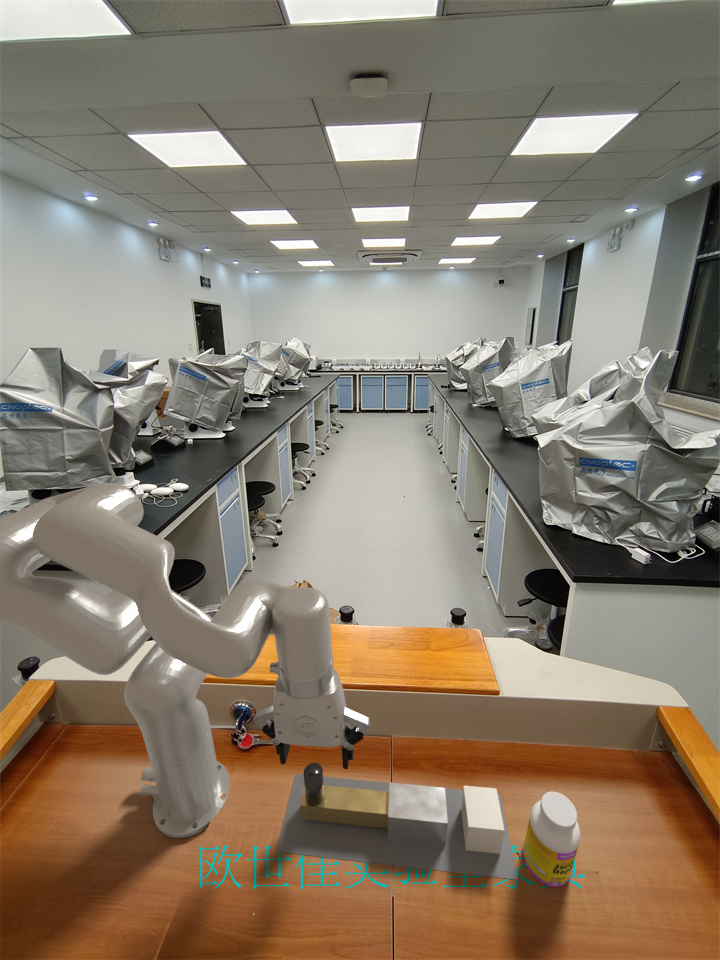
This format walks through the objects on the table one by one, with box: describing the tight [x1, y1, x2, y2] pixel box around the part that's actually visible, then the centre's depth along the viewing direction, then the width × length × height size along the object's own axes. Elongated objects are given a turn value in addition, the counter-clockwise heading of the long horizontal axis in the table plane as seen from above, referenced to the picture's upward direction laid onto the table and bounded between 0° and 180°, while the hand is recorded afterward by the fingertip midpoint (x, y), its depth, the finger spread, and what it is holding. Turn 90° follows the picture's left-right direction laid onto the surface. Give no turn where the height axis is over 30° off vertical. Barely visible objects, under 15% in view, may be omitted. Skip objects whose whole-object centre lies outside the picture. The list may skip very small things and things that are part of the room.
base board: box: [276, 773, 518, 881], centre depth 69 cm, size 36×12×1 cm, turn 84°
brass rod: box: [300, 762, 389, 828], centre depth 67 cm, size 22×3×9 cm, turn 84°
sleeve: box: [388, 782, 448, 845], centre depth 68 cm, size 9×5×5 cm, turn 84°
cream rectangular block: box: [461, 785, 505, 854], centre depth 67 cm, size 5×6×6 cm
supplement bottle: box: [522, 791, 581, 888], centre depth 62 cm, size 7×7×13 cm
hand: (315, 757), depth 66 cm, fingers open, 9 cm apart
